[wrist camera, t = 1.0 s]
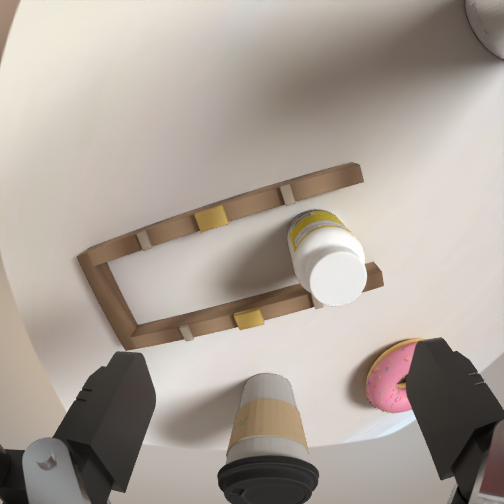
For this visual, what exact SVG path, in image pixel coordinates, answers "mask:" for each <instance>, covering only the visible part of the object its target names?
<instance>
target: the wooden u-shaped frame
mask: <svg viewBox="0 0 504 504" xmlns="http://www.w3.org/2000/svg"><path fill="white" fill-rule="evenodd" d="M362 182H364V180H363V176H362V172H361V168H360V165H359V164H356V163H353V162H351V163H347V164H343V165H340V166H336V167H332V168H329V169H325V170H321V171H318V172H314V173H311V174H307V175H304V176H300V177H297V178H293V179H290V180H286V181H283V182H280V183H276V184H273V185H270V186H266V187H263V188H260V189H257V190H253V191H250V192H247V193H244V194H241V195H237V196H234V197H231V198H228V199H225V200H222V201H219V202H216V203H213V204H210V205H207V206H204V207H201V208H198V209H195V210H192V211H189V212H186V213H183V214H180V215H177V216H174V217H171V218H168V219H166V220H163V221H160V222H157V223H154V224H152V225H149V226H146V227H143V228H141V229H138V230H135V231H132V232H130V233H127V234H124V235H122V236H119V237H116V238H114V239H111V240H108V241H106V242H103V243H101V244H98V245H95V246H93V247H90V248H88V249H87V250H85V251H84V252H83V253H81V254H80V255H79V256H77V258H78V261H79V263H80V265H81V267H82V269H83V271H84V274H85V276H86V278H87V280H88V282H89V284H90V286H91V288H92V290H93V292H94V294H95V296H96V298H97V300H98V302H99V304H100V306H101V308H102V309H103V311H104V313H105V315H106V317H107V319H108V321H109V322H110V324H111V326H112V328H113V330H114V331H115V333H116V335H117V337H118V338H119V340H120V342H121V344H122V345H123V347H124V349H125V350H126V351H127V350H133V349H138V348H143V347H149V346H154V345H159V344H164V343H169V342H173V341H178V340H183V339H185V341H190V340H193V338H194V337H197V336H201V335H206V334H210V333H214V332H219V331H223V330H227V329H232V328H236V327H239V330H243V329H247V328H251V327H255V326H259V325H263V324H264V320H268V319H272V318H275V317H279V316H283V315H287V314H290V313H294V312H298V311H301V310H305V309H309V308H312V307H315V309H318V308H322V307H323V304H322V303H320V302H319V301H318V300H317V299H316V298H315V297H314V296H313V295H312V293H310V292H308V291H307V290H306V289H304V288H303V287H302V285H301V284H297V285H293V286H290V287H286V288H283V289H279V290H275V291H272V292H268V293H264V294H261V295H257V296H253V297H250V298H246V299H242V300H238V301H235V302H231V303H227V304H223V305H219V306H215V307H211V308H207V309H203V310H199V311H195V312H191V313H187V314H183V315H179V316H175V317H171V318H167V319H162V320H158V321H154V322H150V323H145V324H141V325H137V323H136V321H135V319H134V317H133V315H132V313H131V311H130V309H129V307H128V306H127V304H126V302H125V300H124V298H123V296H122V294H121V292H120V289H119V287H118V285H117V283H116V281H115V279H114V277H113V275H112V273H111V271H110V268H109V266H108V264H107V262H108V261H111V260H113V259H116V258H119V257H122V256H125V255H128V254H131V253H134V252H137V251H140V250H143V251H144V250H147V249H150V248H152V246H155V245H158V244H161V243H164V242H167V241H170V240H173V239H176V238H179V237H182V236H185V235H188V234H191V233H194V232H197V231H201V232H204V231H207V230H211V229H214V228H217V227H220V226H223V225H227V224H228V223H229V221H232V220H235V219H239V218H242V217H245V216H248V215H252V214H255V213H258V212H261V211H265V210H268V209H271V208H275V207H278V206H281V205H286V206H287V205H291V204H294V203H295V201H298V200H302V199H305V198H309V197H312V196H316V195H319V194H323V193H326V192H330V191H333V190H337V189H340V188H344V187H348V186H351V185H355V184H358V183H362ZM365 268H366V272H367V281H366V285H365V287H364V289H363V291H362V292H361V293H363V292H366V291H369V290H372V289H375V288H378V287H382V286H384V283H383V277H382V271H381V270H380V269H379V268H378V266H377V265H376V264H375V263H374V262H371V263H368V264H365Z"/></svg>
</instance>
